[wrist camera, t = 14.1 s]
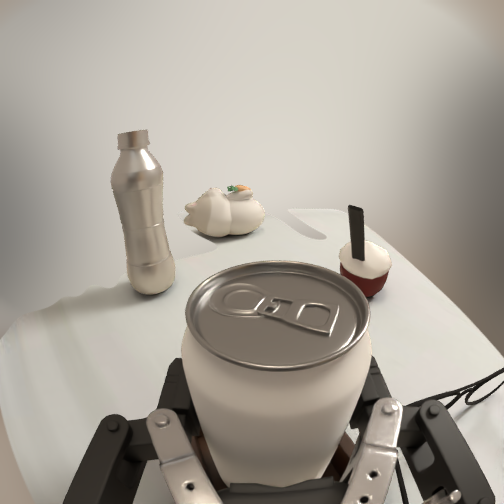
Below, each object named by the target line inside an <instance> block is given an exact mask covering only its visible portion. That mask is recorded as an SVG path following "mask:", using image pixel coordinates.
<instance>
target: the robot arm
mask: <svg viewBox="0 0 504 504" xmlns="http://www.w3.org/2000/svg"><path fill="white" fill-rule="evenodd" d="M349 423H350V427H351V429H355V428H358V429H359V432H360V434H359V436H358V438H357V441H356V444H355V447H354V449H353V452H352V455H351V458H350V460H349V463H348V465H347V468H346V470H345V472H344V474H343V476H342V478H341V480H340V482H337V481H334V480H333V476H331V477H324V478H317V479H309V480H306V481H303V482H300V483H296V484H293V485H290V486H287V487H275V486H269V485H263V484H258V483H230V488H225V489H222V490H219V491H216V490H215V489H214V487H213V485H212V484H211V482H210V480H209V478H208V476H207V475H206V473H205V471H204V469H203V467H202V465H201V463H200V461H199V459H198V458H197V456H196V454H195V452H194V450H193V448H192V446H191V441H192V436H199V432H200V422H199V419H198V416H197V413H196V410H195V407H194V404H193V401H192V397H191V394H190V390H189V387H188V383H187V380H186V376H185V372H184V368H183V362H182V358H175V360H174V361H173V362H172V363H171V364H170V365H169V368H168V372H167V376H166V378H165V383H164V385H163V389H162V392H161V396H160V399H159V403H158V406H157V409H156V410H155V411H153V412H151V413H150V414H149V416H148V417H147V418H144V419H137V420H129V421H127V420H126V419H125V418H124V417H123V416H121V415H118V414H112V415H108V416H106V417H105V418H104V419H103V420H102V421H101V422H100V424H99V426H98V428H97V430H96V432H95V434H94V436H93V438H92V440H91V442H90V444H89V446H88V449H87V451H86V453H85V455H84V457H83V459H82V461H81V463H80V465H79V468H78V470H77V472H76V474H75V476H74V478H73V481H72V483H71V485H70V487H69V490H68V492H67V494H66V497H65V499H64V501H63V504H133V501H134V498H135V495H136V492H137V489H138V486H139V483H140V480H141V477H142V474H143V471H144V468H145V466H146V463H147V460H155V459H159V460H160V468H161V471H162V473H163V476H164V478H165V481H166V483H167V485H168V487H169V490H170V492H171V494H172V496H173V498H174V500H175V503H176V504H384V501H385V498H386V495H387V492H388V489H389V485H390V482H391V479H392V475H393V472H394V468H395V464H396V461H397V456H398V450H396V447H400V448H401V450H402V453H403V455H404V457H405V459H406V461H407V464H408V466H409V468H410V470H411V473H412V475H413V477H414V480H415V482H416V484H417V487H418V489H419V491H420V494H421V496H422V498H423V501H424V502H423V503H422V504H495V496H494V494H493V492H492V489H491V487H490V485H489V483H488V481H487V479H486V477H485V475H484V474H483V472H482V470H481V468H480V466H479V464H478V462H477V460H476V459H475V457H474V455H473V453H472V451H471V450H470V448H469V446H468V444H467V442H466V441H465V439H464V437H463V436H462V434H461V432H460V430H459V429H458V427H457V425H456V424H455V422H454V421H453V419H452V417H451V416H450V414H449V412H448V411H447V409H446V408H445V406H444V405H443V404H442V403H441V402H440V401H437V400H427V401H425V402H424V403H423V404H422V405H421V407H412V406H403V405H401V403H400V402H399V401H397V400H396V399H394V398H392V397H391V395H390V393H389V390H388V388H387V385H386V383H385V381H384V378H383V376H382V374H381V372H380V369H379V367H378V365H377V363H376V360H375V358H374V357H373V356H372V355H371V362H370V367H369V371H368V374H367V377H366V380H365V383H364V386H363V389H362V391H361V394H360V397H359V399H358V402H357V404H356V407H355V409H354V412H353V414H352V416H351V419H350V421H349Z"/></svg>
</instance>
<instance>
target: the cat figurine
mask: <svg viewBox="0 0 504 504" xmlns="http://www.w3.org/2000/svg"><path fill="white" fill-rule="evenodd" d="M230 187H231V188H229V187H227V188H228V191H233V190H234V192H232V193H230V194H228V195H224V193H223V192H222V191H221V190H220V189H218V188H210V189H209V190H208V191H207V192H205V193H204V194H203V195H202V196H201V197H200V198H199V199H198V200H197V201H196V202H193V203H189V204H187V205H186V206H185V210H186V211H187V212H188V213H189V215H188V216H187V217H185V219H184V223H185V224H186V225H189V226H193V227H196V228H197V229H198V230H199V231H200V232H202V233H204V234H206V235H209V236H213V237H223V236H226V235H228V234H232V235H242V234H246V233H249V232H252V231H254V230H255V229H257V228H258V227H259V226H260V225H261V224H262V222H263V220H264V217H265V212H264V209H263V207H262V206H261V204H260V203H259V202H257V201H256V200H254V199H252V197H253V196H252V195H253V192H252V191H251V189H250V188H248V187H246V186H242V185H237V186H235V187H233V186H230Z"/></svg>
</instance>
